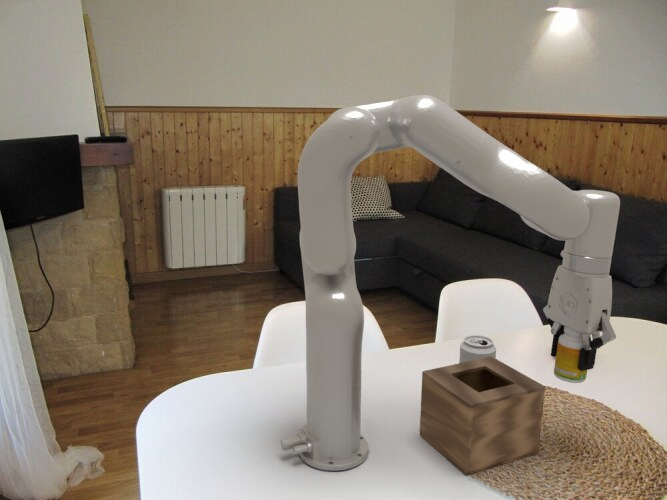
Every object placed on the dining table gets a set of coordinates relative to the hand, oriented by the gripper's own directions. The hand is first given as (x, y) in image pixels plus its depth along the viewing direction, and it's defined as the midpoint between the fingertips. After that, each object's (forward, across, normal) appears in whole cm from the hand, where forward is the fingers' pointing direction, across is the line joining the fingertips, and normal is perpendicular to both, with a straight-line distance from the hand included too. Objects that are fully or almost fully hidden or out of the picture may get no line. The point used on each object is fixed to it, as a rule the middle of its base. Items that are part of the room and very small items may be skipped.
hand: (571, 361), depth 104 cm
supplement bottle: (+3, 0, 0) cm, 3 cm away
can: (+17, -23, -1) cm, 29 cm away
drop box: (+17, -6, -14) cm, 23 cm away
